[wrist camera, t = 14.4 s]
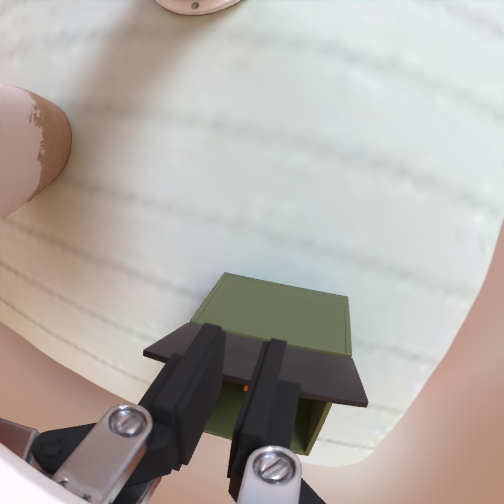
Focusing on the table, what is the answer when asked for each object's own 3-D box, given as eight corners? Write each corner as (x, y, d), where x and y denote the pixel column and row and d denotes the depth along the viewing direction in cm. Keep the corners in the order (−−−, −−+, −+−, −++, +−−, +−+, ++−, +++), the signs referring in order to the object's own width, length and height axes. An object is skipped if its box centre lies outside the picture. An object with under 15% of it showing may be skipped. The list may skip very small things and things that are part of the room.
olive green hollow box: (224, 272, 34) (190, 320, 25) (348, 296, 32) (352, 355, 23) (216, 374, 39) (191, 428, 31) (315, 396, 37) (308, 456, 29)
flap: (187, 327, 24) (187, 322, 24) (351, 362, 22) (352, 357, 22) (142, 355, 17) (143, 349, 17) (366, 407, 15) (368, 401, 15)
